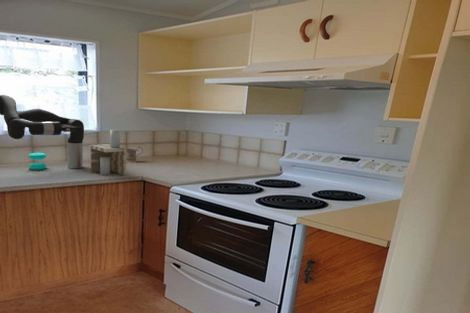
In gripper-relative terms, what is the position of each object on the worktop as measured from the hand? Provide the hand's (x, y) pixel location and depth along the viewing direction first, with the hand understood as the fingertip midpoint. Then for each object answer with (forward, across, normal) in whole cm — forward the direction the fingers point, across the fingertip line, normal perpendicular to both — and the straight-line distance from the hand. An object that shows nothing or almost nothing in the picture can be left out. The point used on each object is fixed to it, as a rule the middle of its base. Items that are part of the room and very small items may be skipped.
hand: (79, 128), depth 198 cm
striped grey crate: (+18, 0, +30) cm, 35 cm away
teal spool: (-11, +38, +30) cm, 50 cm away
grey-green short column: (+16, 0, +30) cm, 34 cm away
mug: (+56, +31, +30) cm, 71 cm away
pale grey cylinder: (+20, -5, +12) cm, 24 cm away
